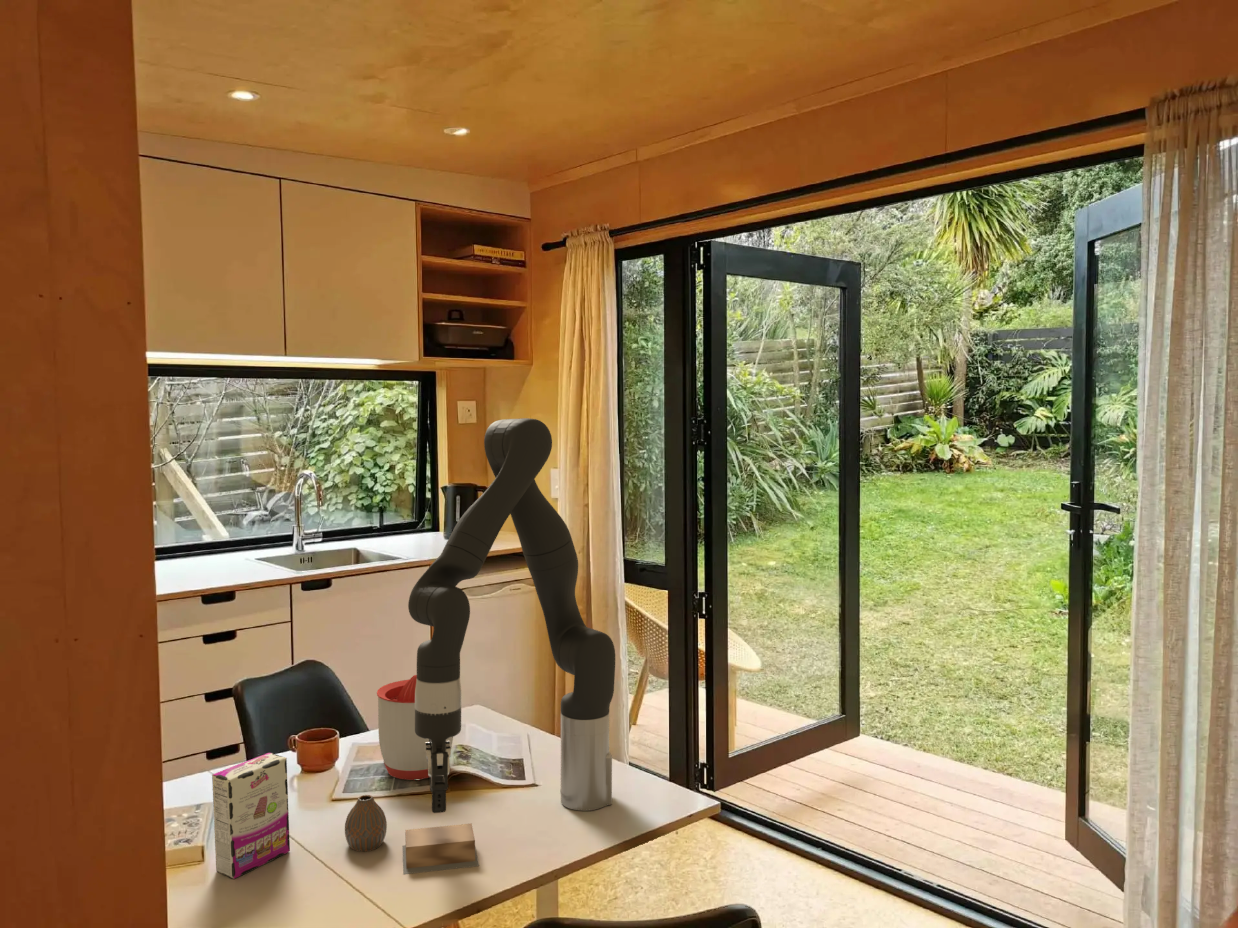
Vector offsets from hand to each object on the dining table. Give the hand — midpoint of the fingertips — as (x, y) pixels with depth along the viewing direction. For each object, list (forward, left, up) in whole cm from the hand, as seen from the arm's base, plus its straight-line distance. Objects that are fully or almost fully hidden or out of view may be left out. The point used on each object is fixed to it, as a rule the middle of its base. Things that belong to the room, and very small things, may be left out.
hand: (437, 800), depth 157 cm
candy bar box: (+30, -6, -10) cm, 32 cm away
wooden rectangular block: (0, 0, -9) cm, 9 cm away
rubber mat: (0, 0, -10) cm, 10 cm away
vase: (+12, -7, -10) cm, 17 cm away
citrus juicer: (+2, -39, -10) cm, 40 cm away
